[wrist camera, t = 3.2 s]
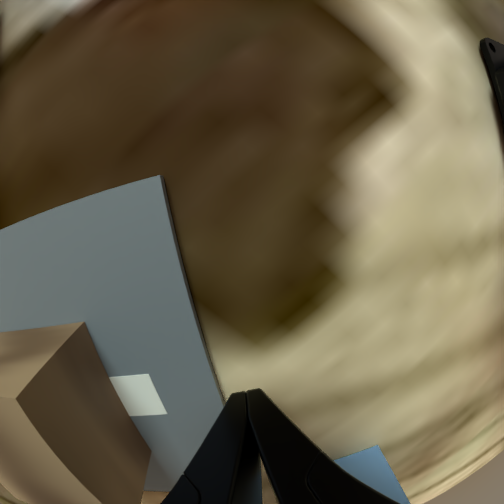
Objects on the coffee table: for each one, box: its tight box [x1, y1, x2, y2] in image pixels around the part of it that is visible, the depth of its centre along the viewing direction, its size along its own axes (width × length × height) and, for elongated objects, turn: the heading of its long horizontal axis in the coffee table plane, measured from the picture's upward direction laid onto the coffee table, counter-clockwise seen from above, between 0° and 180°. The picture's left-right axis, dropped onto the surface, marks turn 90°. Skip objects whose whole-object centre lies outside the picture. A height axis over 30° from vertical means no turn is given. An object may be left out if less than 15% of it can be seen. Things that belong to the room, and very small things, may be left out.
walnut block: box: [0, 322, 152, 504], centre depth 6 cm, size 6×6×4 cm
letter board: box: [0, 175, 225, 492], centre depth 8 cm, size 13×13×1 cm
